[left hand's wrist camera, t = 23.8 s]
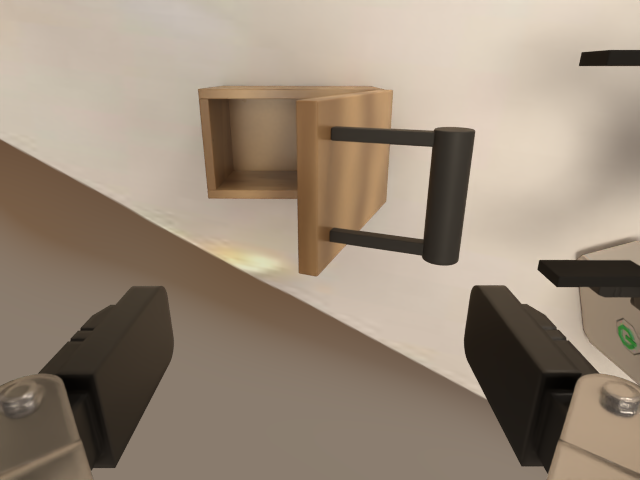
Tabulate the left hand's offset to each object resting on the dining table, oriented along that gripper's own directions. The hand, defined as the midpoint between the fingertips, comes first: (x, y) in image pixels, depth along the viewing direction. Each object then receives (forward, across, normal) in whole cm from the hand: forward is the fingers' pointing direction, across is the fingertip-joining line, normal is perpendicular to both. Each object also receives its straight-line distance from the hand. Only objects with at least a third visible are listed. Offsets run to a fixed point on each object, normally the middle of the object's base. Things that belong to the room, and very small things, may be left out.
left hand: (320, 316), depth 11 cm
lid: (+20, +2, 0) cm, 20 cm away
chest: (+37, -2, 0) cm, 37 cm away
